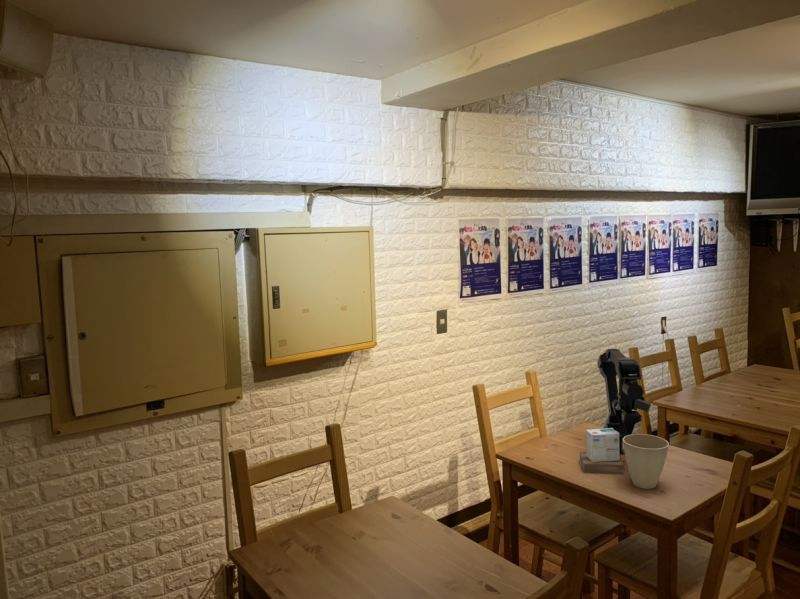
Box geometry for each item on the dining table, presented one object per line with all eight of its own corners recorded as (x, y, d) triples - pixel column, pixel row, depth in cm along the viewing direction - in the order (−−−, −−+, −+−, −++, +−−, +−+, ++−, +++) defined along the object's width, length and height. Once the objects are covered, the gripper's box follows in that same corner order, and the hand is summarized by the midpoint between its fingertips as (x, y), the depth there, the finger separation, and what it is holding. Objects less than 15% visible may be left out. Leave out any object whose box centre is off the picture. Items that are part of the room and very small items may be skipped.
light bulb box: (613, 454, 232) (612, 427, 231) (620, 460, 225) (620, 432, 224) (585, 456, 231) (585, 428, 230) (592, 462, 225) (591, 434, 224)
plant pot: (638, 496, 204) (639, 450, 202) (614, 478, 218) (614, 436, 217) (677, 490, 207) (678, 446, 205) (650, 474, 221) (651, 432, 220)
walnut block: (579, 461, 236) (579, 452, 236) (617, 463, 234) (617, 453, 234) (584, 474, 224) (584, 463, 224) (623, 475, 222) (623, 465, 222)
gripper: (656, 399, 217) (655, 440, 219) (641, 385, 236) (640, 423, 238) (624, 399, 218) (624, 440, 220) (612, 385, 237) (611, 423, 239)
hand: (626, 432), depth 229 cm, fingers open, 9 cm apart
